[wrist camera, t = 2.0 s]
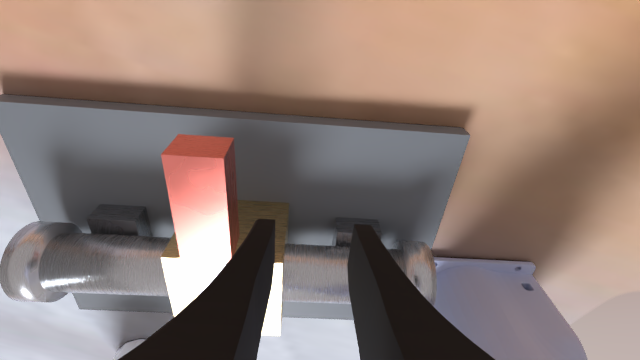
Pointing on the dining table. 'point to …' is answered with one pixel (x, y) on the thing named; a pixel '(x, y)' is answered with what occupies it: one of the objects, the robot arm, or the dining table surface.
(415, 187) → the mounting board
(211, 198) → the valve lever
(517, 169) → the dining table surface
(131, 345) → the white cup
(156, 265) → the valve body
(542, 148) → the dining table surface
